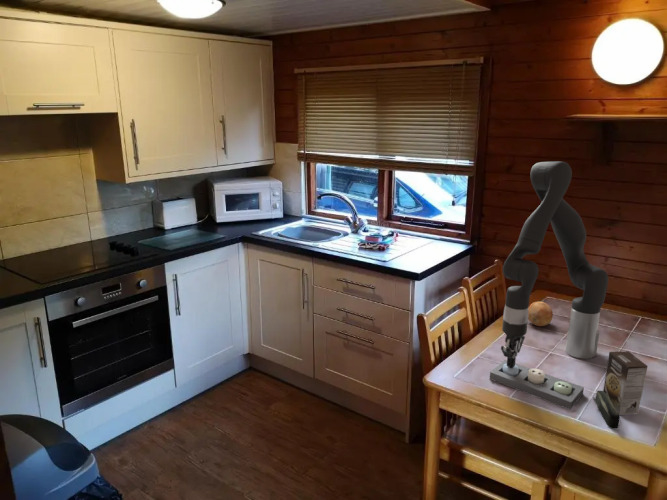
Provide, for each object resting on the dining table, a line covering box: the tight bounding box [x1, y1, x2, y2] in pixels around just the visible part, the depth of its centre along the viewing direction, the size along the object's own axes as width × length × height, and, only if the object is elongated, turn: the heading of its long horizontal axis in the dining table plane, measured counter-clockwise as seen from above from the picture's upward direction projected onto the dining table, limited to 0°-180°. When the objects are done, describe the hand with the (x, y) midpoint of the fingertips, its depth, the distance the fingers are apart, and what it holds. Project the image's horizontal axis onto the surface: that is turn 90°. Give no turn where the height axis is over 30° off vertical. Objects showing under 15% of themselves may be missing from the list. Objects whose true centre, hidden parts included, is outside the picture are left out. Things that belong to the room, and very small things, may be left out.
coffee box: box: [602, 350, 648, 416], centre depth 155 cm, size 9×6×16 cm
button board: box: [489, 359, 585, 410], centre depth 168 cm, size 26×11×2 cm, turn 47°
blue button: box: [502, 363, 519, 377], centre depth 173 cm, size 5×5×3 cm
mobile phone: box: [592, 390, 621, 430], centre depth 153 cm, size 5×3×15 cm
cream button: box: [527, 368, 546, 386], centre depth 167 cm, size 5×5×3 cm
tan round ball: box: [528, 301, 554, 327], centre depth 211 cm, size 10×10×10 cm
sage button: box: [554, 381, 572, 396], centre depth 162 cm, size 5×5×3 cm
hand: (510, 366), depth 173 cm, fingers closed
